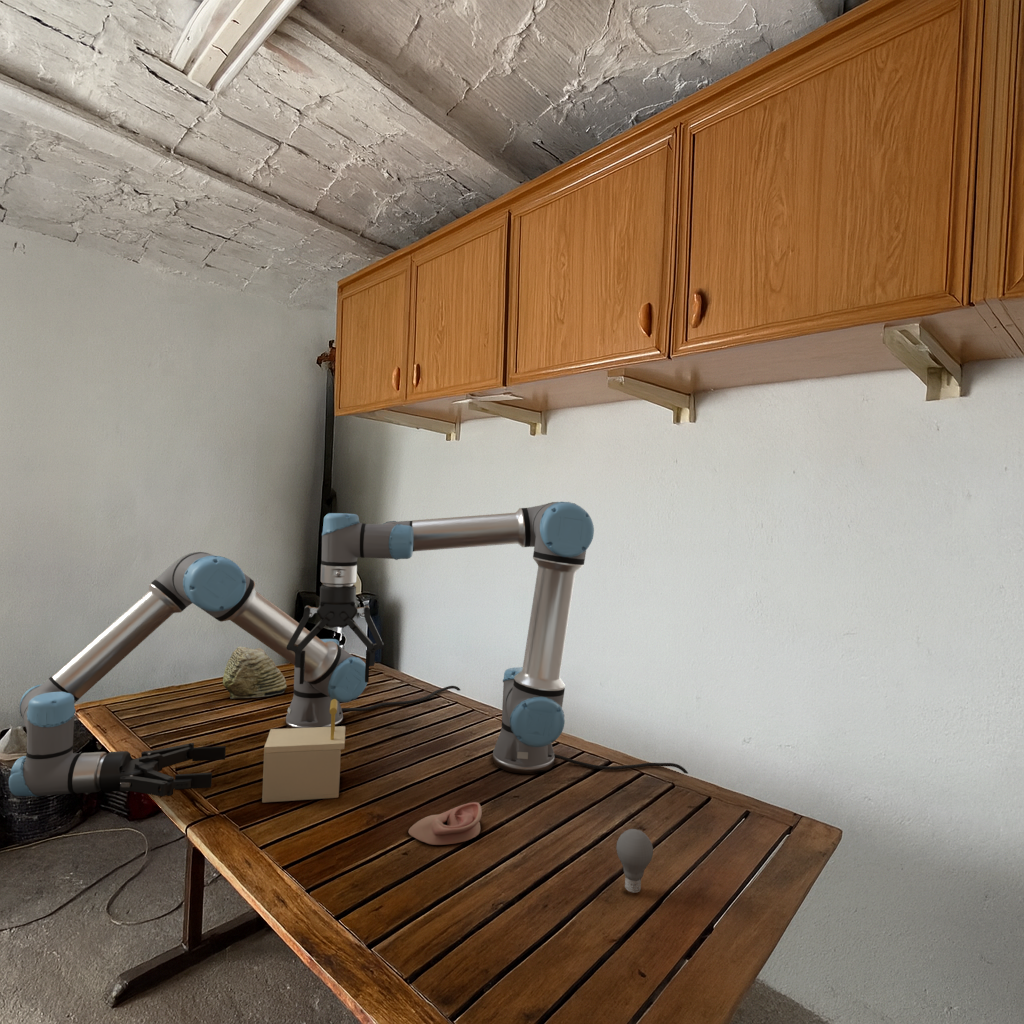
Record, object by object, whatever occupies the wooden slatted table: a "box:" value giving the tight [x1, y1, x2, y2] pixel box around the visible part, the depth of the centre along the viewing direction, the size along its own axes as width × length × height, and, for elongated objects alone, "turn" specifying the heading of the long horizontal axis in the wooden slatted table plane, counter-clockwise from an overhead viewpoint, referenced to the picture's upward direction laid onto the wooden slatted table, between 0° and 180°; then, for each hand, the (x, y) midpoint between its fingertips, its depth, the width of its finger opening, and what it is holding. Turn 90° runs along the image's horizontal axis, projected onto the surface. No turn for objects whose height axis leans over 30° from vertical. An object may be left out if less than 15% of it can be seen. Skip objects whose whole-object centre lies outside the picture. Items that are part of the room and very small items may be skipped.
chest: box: [261, 749, 342, 803], centre depth 137 cm, size 15×10×10 cm
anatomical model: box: [407, 801, 483, 846], centre depth 122 cm, size 13×4×12 cm
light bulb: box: [615, 828, 654, 894], centre depth 106 cm, size 6×6×10 cm
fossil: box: [222, 646, 288, 699], centre depth 198 cm, size 9×18×15 cm, turn 132°
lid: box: [263, 699, 346, 754], centre depth 137 cm, size 16×10×8 cm, turn 104°
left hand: (218, 765), depth 132 cm, fingers open, 13 cm apart
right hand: (334, 681), depth 138 cm, fingers open, 13 cm apart
